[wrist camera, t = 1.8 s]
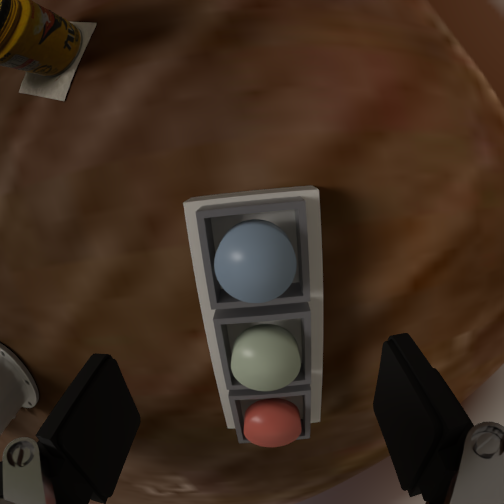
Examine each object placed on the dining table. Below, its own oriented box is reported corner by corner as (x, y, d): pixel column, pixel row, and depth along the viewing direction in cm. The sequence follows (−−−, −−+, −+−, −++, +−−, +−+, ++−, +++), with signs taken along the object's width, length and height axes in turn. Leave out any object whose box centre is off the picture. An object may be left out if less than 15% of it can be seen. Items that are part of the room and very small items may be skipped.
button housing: (316, 403, 32) (323, 438, 27) (229, 409, 32) (225, 445, 27) (312, 185, 25) (325, 193, 19) (191, 197, 25) (174, 208, 20)
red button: (299, 430, 27) (301, 444, 25) (247, 433, 27) (247, 448, 25) (299, 395, 25) (301, 410, 23) (241, 399, 25) (240, 415, 24)
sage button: (298, 372, 24) (301, 388, 22) (237, 377, 25) (235, 392, 23) (297, 320, 23) (299, 334, 21) (228, 326, 23) (226, 340, 21)
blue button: (295, 287, 22) (298, 299, 20) (223, 293, 22) (220, 306, 20) (290, 215, 20) (293, 222, 19) (213, 223, 21) (208, 230, 19)
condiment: (98, 23, 20) (26, -23, 9) (65, 101, 23) (-24, 87, 11) (49, 21, 20) (-22, -10, 8) (20, 92, 22) (-61, 84, 10)
